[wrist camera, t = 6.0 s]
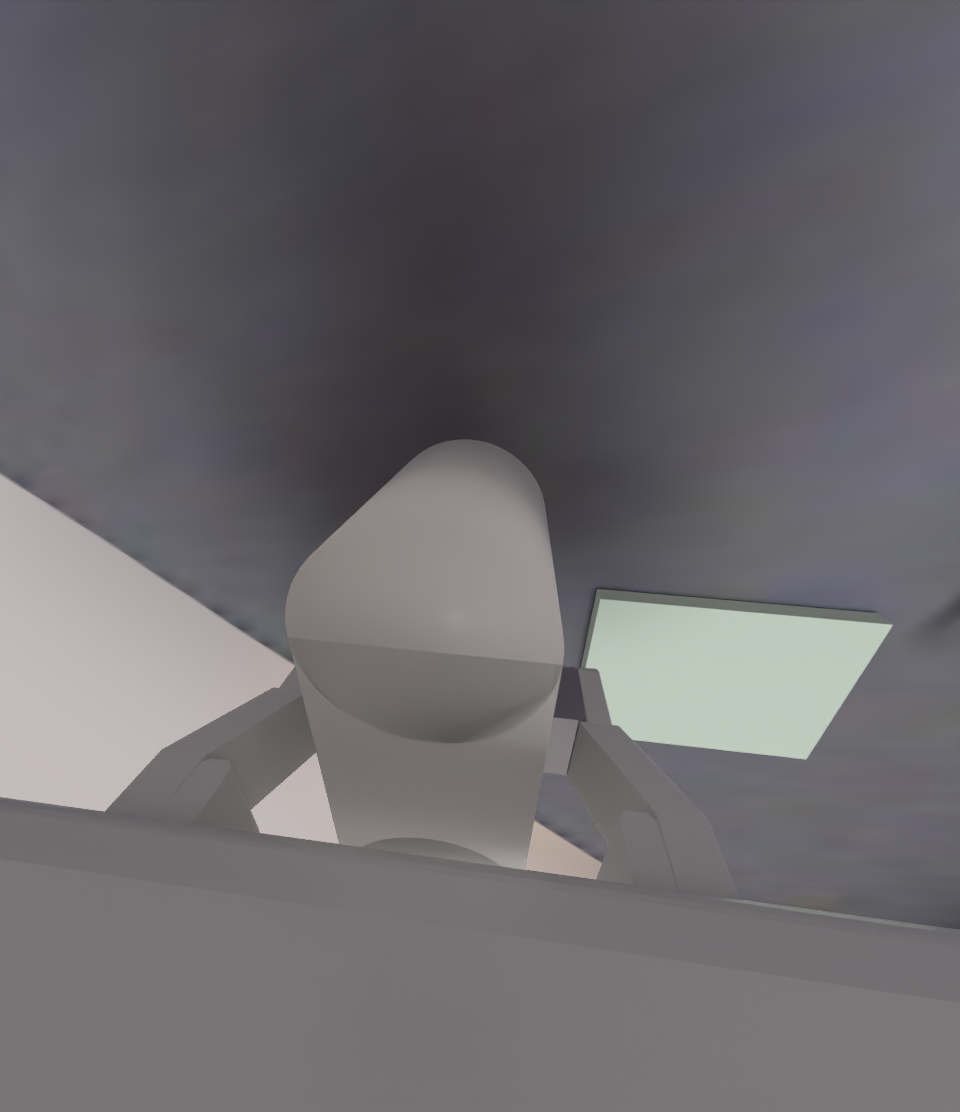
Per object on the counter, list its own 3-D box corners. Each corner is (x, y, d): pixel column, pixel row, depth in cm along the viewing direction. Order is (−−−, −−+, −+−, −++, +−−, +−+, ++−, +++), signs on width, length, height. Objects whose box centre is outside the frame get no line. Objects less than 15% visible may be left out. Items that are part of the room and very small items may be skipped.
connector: (385, 434, 9) (256, 508, 5) (555, 444, 9) (586, 534, 4) (411, 788, 16) (367, 959, 11) (509, 801, 15) (504, 980, 11)
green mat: (596, 588, 21) (600, 599, 20) (876, 612, 20) (893, 624, 19) (569, 719, 25) (571, 732, 24) (795, 744, 24) (806, 759, 23)
